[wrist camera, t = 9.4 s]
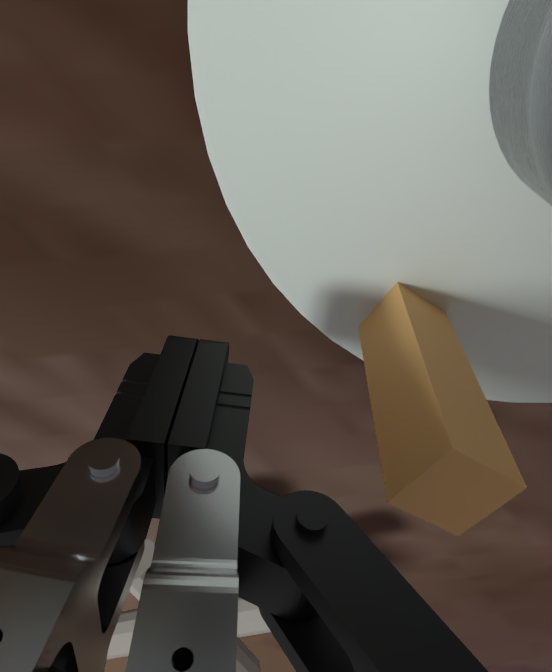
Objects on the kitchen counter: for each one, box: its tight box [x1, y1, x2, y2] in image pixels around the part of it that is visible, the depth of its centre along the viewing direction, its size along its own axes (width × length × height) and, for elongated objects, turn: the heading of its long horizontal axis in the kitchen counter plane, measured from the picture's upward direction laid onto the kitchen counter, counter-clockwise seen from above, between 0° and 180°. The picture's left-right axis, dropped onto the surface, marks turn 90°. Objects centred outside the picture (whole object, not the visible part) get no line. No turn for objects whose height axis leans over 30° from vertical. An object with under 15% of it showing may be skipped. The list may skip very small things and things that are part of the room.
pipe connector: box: [107, 539, 271, 672], centre depth 22 cm, size 10×10×10 cm
